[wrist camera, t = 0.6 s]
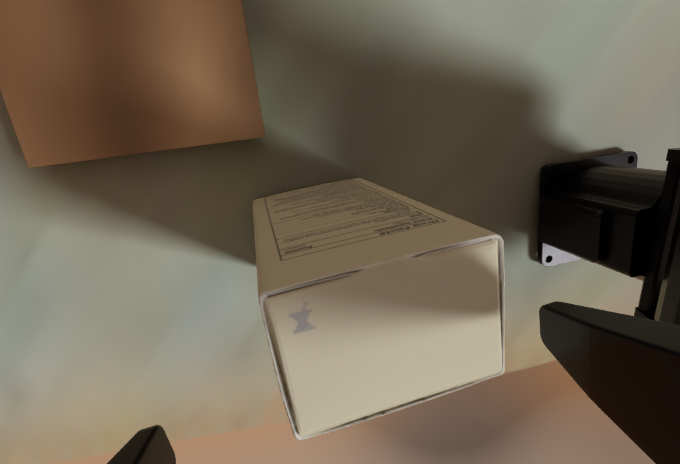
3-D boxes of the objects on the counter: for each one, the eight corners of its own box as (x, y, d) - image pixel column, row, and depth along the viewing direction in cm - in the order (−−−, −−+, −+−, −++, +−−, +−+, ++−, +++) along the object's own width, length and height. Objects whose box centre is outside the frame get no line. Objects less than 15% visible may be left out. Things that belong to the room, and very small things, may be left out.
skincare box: (268, 273, 21) (281, 453, 9) (250, 197, 19) (239, 297, 8) (378, 247, 22) (513, 381, 10) (367, 174, 20) (509, 232, 9)
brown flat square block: (224, -97, 16) (219, -126, 15) (264, 136, 19) (265, 136, 17) (-34, -90, 15) (-77, -121, 13) (52, 163, 18) (28, 168, 16)
